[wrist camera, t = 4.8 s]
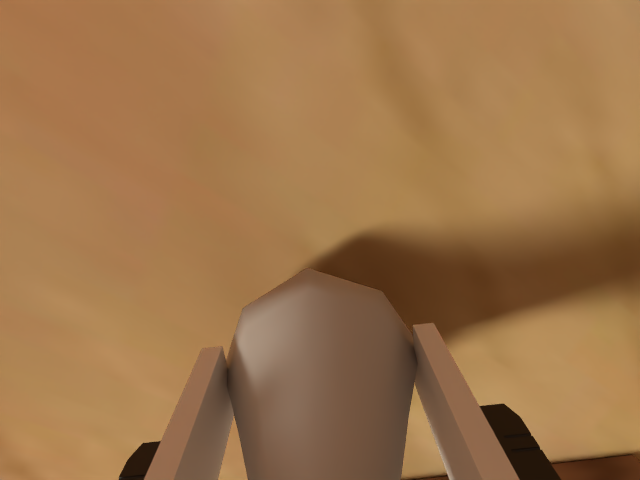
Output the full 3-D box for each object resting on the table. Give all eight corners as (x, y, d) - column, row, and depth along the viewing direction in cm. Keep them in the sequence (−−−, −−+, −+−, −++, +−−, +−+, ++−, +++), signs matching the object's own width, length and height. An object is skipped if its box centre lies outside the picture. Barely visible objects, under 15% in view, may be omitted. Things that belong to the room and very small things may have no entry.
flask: (450, 337, 15) (691, 748, 5) (335, 448, 17) (365, 896, 7) (302, 231, 13) (278, 558, 4) (193, 368, 15) (-3, 812, 6)
